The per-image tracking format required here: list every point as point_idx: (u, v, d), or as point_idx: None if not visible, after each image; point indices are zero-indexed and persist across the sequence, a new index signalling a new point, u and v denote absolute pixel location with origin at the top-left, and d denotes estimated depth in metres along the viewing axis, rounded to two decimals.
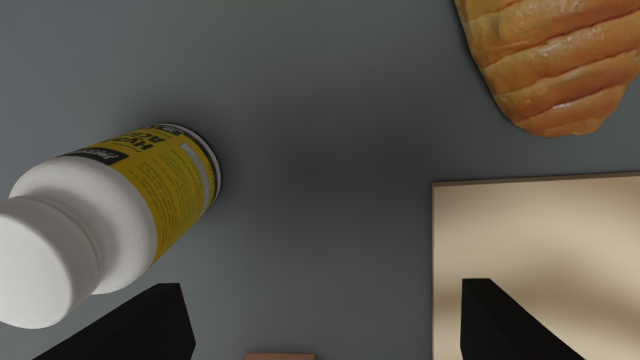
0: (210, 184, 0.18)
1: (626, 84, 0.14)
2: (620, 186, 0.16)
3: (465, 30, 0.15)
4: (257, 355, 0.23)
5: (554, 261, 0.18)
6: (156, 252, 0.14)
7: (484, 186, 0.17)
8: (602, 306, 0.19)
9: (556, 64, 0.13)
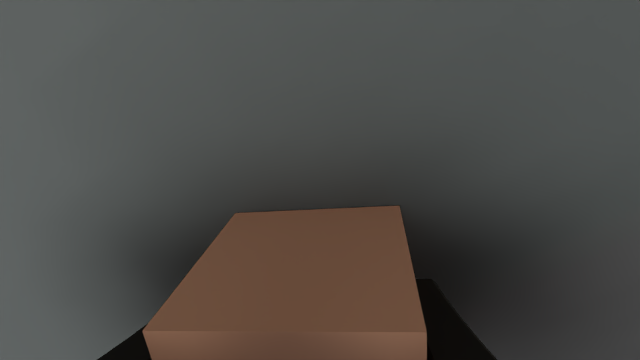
0: None
1: None
2: None
3: None
4: (260, 216, 0.10)
5: None
6: None
7: None
8: None
9: None
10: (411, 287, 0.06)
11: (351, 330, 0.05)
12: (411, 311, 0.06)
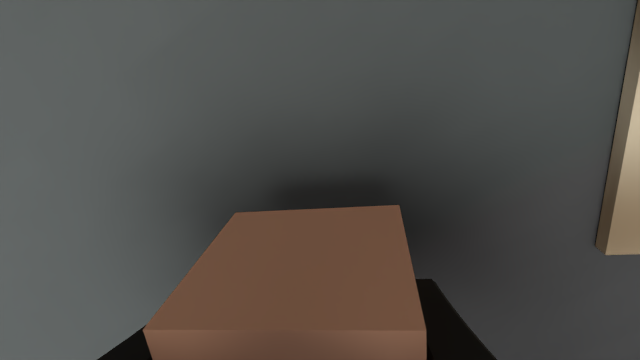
0: None
1: None
2: None
3: None
4: (260, 215, 0.10)
5: None
6: None
7: None
8: None
9: None
10: (411, 286, 0.06)
11: (351, 328, 0.05)
12: (411, 310, 0.06)
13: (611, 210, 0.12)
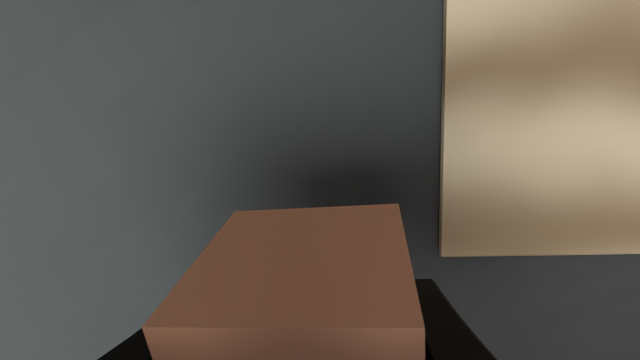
0: None
1: None
2: None
3: None
4: (260, 214, 0.10)
5: None
6: None
7: None
8: None
9: None
10: (410, 284, 0.06)
11: (349, 326, 0.05)
12: (409, 307, 0.06)
13: (441, 224, 0.16)
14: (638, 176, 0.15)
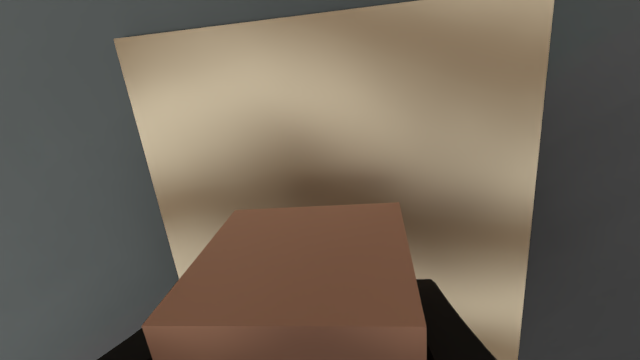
0: None
1: None
2: (338, 25, 0.12)
3: None
4: (260, 212, 0.10)
5: (285, 143, 0.14)
6: None
7: (175, 35, 0.13)
8: None
9: None
10: (411, 282, 0.06)
11: (351, 325, 0.05)
12: (411, 306, 0.06)
13: None
14: None
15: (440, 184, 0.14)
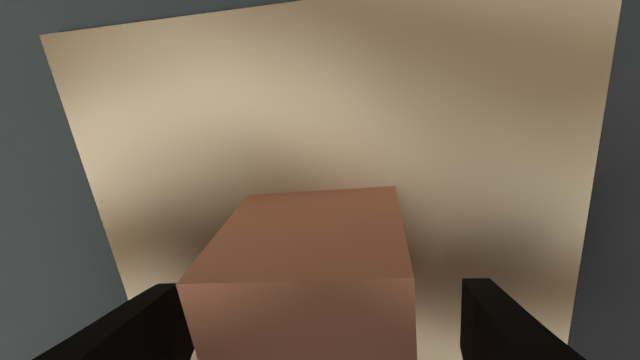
0: None
1: None
2: (330, 17, 0.09)
3: None
4: (270, 197, 0.11)
5: (263, 168, 0.11)
6: None
7: (117, 30, 0.10)
8: None
9: None
10: (403, 247, 0.07)
11: (352, 278, 0.06)
12: (402, 263, 0.07)
13: None
14: None
15: (462, 222, 0.11)
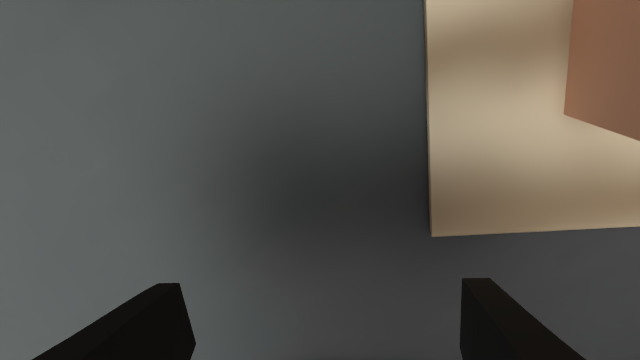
0: None
1: None
2: None
3: None
4: None
5: None
6: None
7: None
8: None
9: None
10: None
11: None
12: None
13: (431, 204, 0.17)
14: (622, 149, 0.15)
15: None
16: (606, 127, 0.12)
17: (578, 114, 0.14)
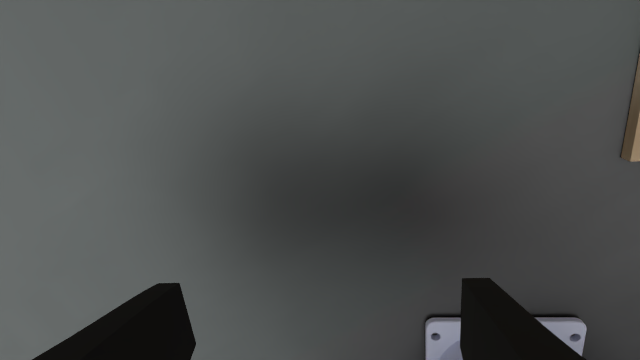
0: None
1: None
2: None
3: None
4: None
5: None
6: None
7: None
8: None
9: None
10: None
11: None
12: None
13: (635, 122, 0.15)
14: None
15: None
16: None
17: None
